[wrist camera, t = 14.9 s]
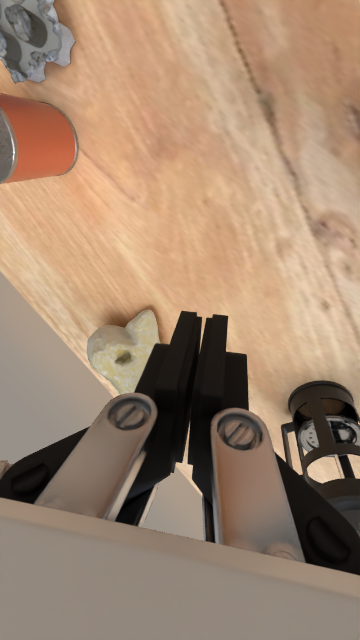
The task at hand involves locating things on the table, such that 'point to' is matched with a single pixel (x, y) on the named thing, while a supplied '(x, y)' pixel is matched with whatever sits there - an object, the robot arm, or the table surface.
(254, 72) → the table surface
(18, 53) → the egg carton
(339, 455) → the french press
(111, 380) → the holed limestone rock
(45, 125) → the tin can
